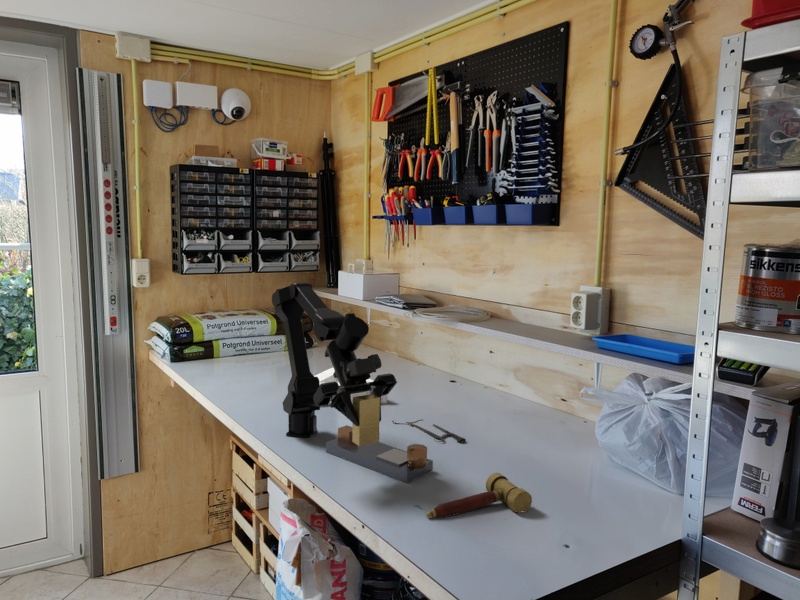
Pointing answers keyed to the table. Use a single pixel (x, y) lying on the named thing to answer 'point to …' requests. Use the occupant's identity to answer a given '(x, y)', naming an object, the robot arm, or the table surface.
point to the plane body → (382, 456)
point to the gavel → (487, 498)
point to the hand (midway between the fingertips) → (369, 423)
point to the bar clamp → (458, 438)
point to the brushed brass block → (366, 419)
